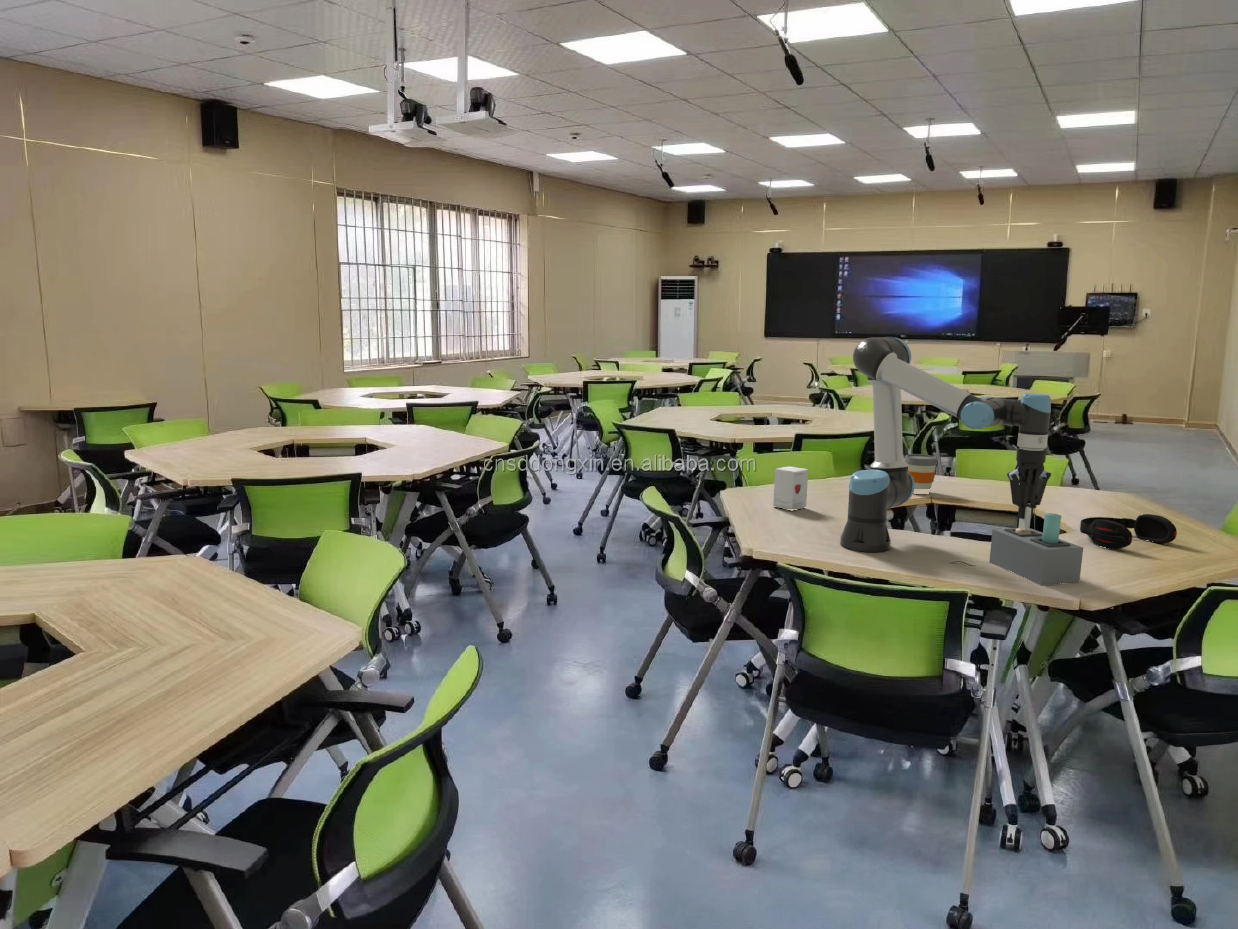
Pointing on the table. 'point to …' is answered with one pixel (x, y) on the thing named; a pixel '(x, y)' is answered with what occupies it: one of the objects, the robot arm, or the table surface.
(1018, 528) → the beech peg
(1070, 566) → the socket block
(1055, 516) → the teal peg
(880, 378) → the robot arm
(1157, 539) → the headset
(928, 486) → the reusable coffee cup
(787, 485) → the supplement box
